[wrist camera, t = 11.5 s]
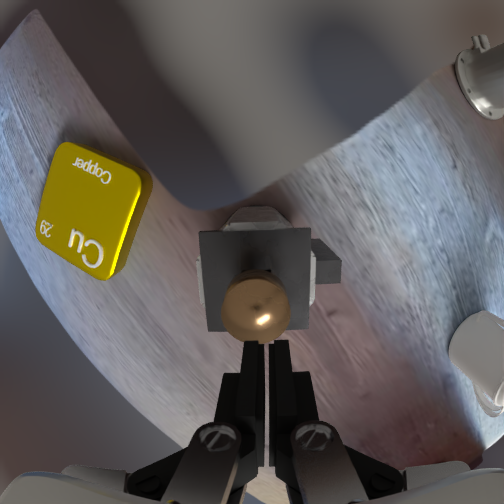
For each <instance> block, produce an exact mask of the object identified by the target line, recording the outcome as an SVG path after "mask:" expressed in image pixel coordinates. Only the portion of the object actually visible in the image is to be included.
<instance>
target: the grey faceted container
mask: <svg viewBox="0 0 504 504" xmlns="http://www.w3.org/2000/svg"><path fill="white" fill-rule="evenodd" d="M199 244H200V255H199V256H198V258H197V260H196V265H197V275H198V285H199V295H200V303H203V304H202V306H203V307H204V308H205V309H206V317H207V326H208V332H228V331H227V330H226V328H225V327H224V325H223V322H222V318H221V308H222V304H223V301H224V297H225V294H226V290H227V287H228V285H229V283H230V282H231V281H232V279H233V278H234V277H236V276H237V275H238V274H240V273H242V271H241V270H252V269H260V270H269V269H271V273H272V274H274V275H276V276H277V277H278V278H279V279H280V280H281V281H282V283H283V284H284V286H285V289H286V292H287V297H288V301H289V305H290V310H291V316H290V321H289V324H288V326H287V328H286V330H298V329H308V325H309V306H310V305H311V304H312V303H313V300H315V284H333V283H340V281H341V262H342V260H341V259H340V258H339V257H338V256H337V255H336V254H335V253H334V252H333V251H332V250H331V249H330V248H329V247H328V246H327V245H326V244H325V243H324V242H323V241H321V240H320V239H311V228H310V227H309V228H294V227H293V226H292V225H291V224H290V223H289V222H288V220H287V219H286V218H285V217H284V216H283V215H282V214H281V213H280V212H278V211H277V210H275V209H274V208H273V207H271V206H262V205H253V206H248V207H241V208H239V209H238V210H237V211H236V212H235V213H234V214H233V215H232V216H230V217H229V219H228V220H227V221H226V223H225V224H224V225H223V226H222V228H221V229H220V230H214V231H200V232H199Z"/></svg>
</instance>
